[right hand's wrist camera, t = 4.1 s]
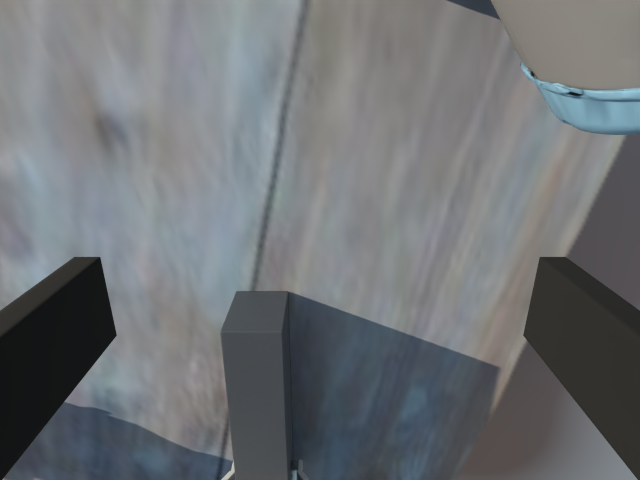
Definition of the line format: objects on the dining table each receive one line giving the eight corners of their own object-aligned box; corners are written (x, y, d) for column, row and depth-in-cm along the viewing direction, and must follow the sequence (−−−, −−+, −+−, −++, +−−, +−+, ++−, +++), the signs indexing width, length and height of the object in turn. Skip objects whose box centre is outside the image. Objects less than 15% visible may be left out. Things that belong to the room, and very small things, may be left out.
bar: (236, 291, 46) (220, 331, 38) (288, 291, 46) (282, 331, 38) (250, 465, 55) (239, 524, 48) (293, 465, 55) (289, 524, 48)
